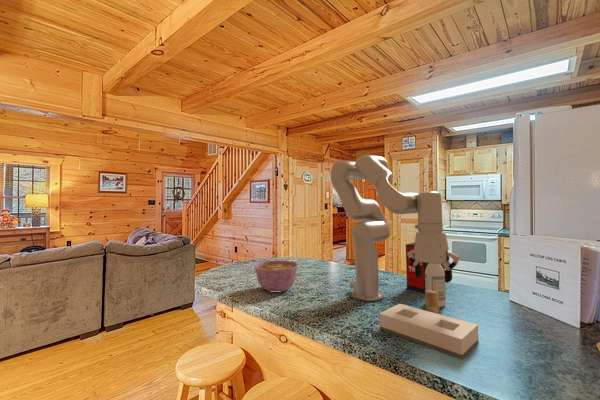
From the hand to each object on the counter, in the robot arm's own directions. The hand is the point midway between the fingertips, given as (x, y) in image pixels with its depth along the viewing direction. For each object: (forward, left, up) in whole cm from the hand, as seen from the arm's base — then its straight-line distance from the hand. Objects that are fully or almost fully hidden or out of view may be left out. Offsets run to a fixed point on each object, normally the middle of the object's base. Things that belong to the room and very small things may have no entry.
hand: (433, 279), depth 98 cm
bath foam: (-6, +14, -14) cm, 20 cm away
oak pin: (-1, 0, -14) cm, 13 cm away
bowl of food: (-65, -17, -14) cm, 68 cm away
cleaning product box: (-18, +32, -14) cm, 39 cm away
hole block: (+3, -13, -13) cm, 19 cm away
